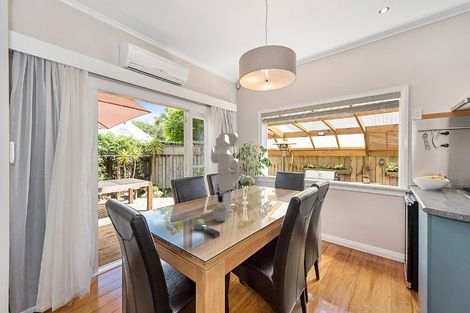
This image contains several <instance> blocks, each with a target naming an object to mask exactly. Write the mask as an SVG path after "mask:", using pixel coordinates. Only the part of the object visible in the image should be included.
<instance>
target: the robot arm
mask: <svg viewBox="0 0 470 313" xmlns="http://www.w3.org/2000/svg"><path fill="white" fill-rule="evenodd" d="M238 143H239V137H238V134H237V133H236V132H221V133H220V134H219V135H218V137H216V138H215V145H214V146H213V147H212V149H211V152H210V160H211V162H212V163H213V164H217V174H216V177H215V186H214V187H215V188H214V189H213V193H215V194H216V196H218V202H220V203H222V196H221V194H222V191H227V192H231V193H232V192H233V190H234V189H235V188H234V185H233V184H238V183H239V181H240V168H239V167H240V165H239V164H240V163H239V160H238V159H237V158H234V156H233V154H232V152H230V151H229V150H230V148H236V147H237V146H238ZM218 207H225V208H227V213H230V212H232V211H233V208H232V207H235V203H233V204H232V203H231V204H228V205H220V204H218Z"/></svg>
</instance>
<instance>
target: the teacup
mask: <svg viewBox="0 0 470 313" xmlns="http://www.w3.org/2000/svg"><path fill="white" fill-rule="evenodd" d="M211 214H212V219H213V220H214V221H215V222H224V221H225V220H227V218H228V212H227V208H225V207H219V206H218V207H214V208H212V209H211Z"/></svg>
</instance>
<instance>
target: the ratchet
mask: <svg viewBox="0 0 470 313" xmlns="http://www.w3.org/2000/svg"><path fill="white" fill-rule="evenodd" d="M193 230H194V231H196V232H202V233H204V234H206V235H208V236H210V237H212V238H214V239H216V238H218V237H221V232H220V231H219V230H216V229H214V228H210V227H208V224H207V222H205V219H203V218H199V219H196V223H194V225H193Z"/></svg>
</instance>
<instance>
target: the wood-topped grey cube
mask: <svg viewBox="0 0 470 313" xmlns="http://www.w3.org/2000/svg"><path fill="white" fill-rule="evenodd" d="M216 196H217V195H216ZM221 196H222V203H220V202H218V196H217V198H216V202H217V205H219V204H220V205H228V204H231V205H232V192H227V191H222V194H221Z"/></svg>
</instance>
